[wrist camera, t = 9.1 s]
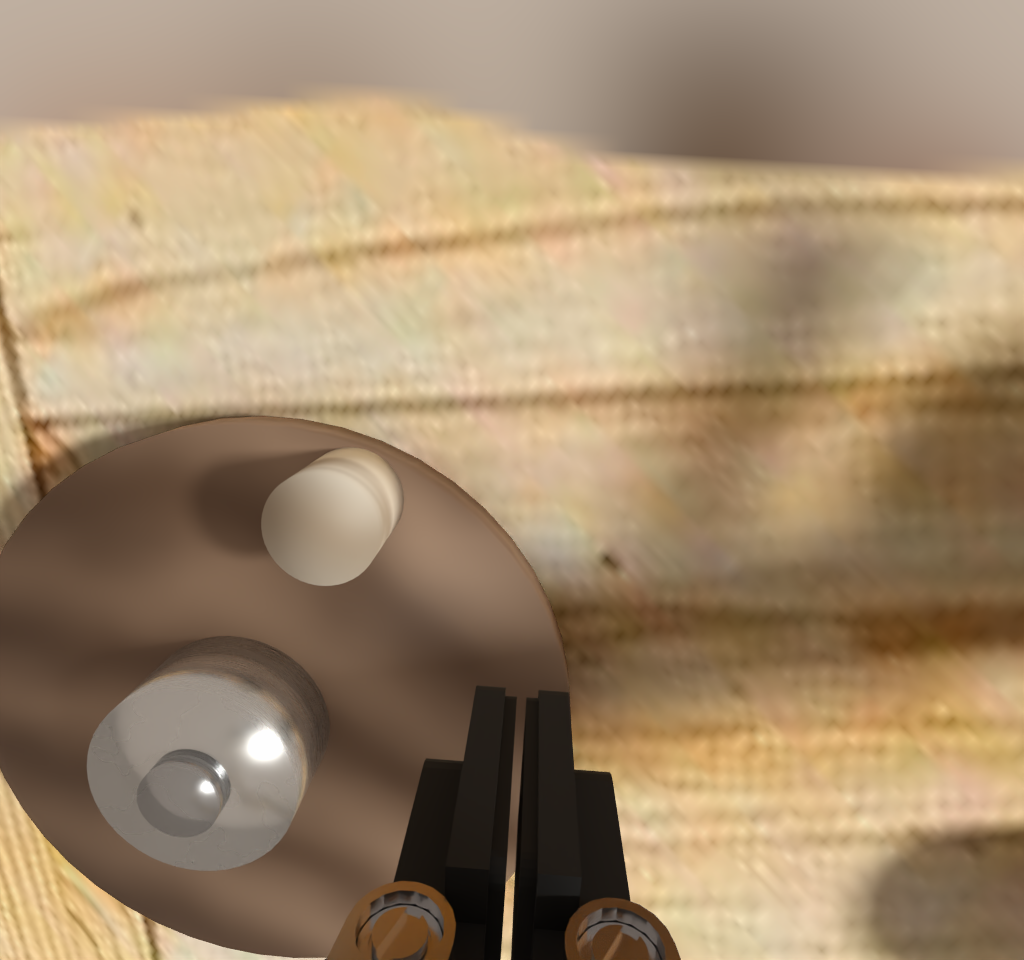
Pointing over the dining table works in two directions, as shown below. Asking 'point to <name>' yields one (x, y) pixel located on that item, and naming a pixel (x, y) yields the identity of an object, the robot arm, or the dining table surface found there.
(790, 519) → the dining table surface
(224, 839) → the cap
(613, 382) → the dining table surface
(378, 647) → the turntable
